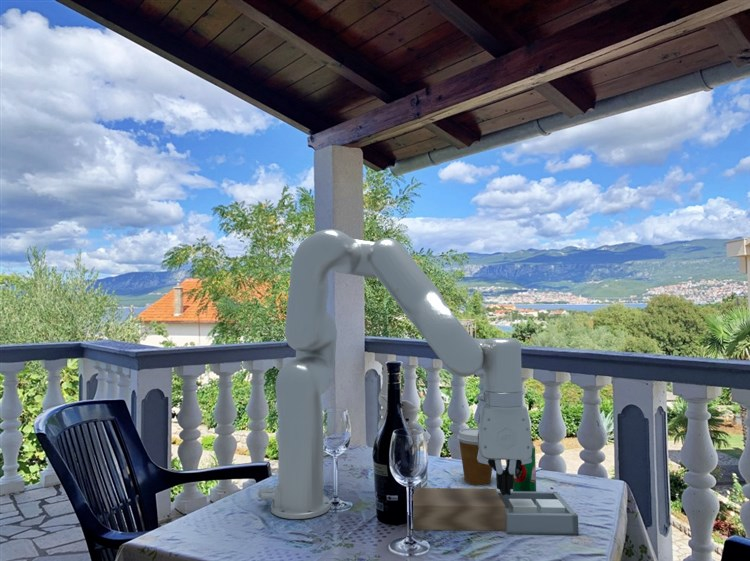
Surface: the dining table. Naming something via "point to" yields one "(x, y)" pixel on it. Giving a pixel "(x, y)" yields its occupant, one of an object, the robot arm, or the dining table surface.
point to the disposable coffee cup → (473, 458)
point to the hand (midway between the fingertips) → (504, 492)
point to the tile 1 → (522, 506)
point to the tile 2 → (549, 506)
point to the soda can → (526, 476)
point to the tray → (539, 516)
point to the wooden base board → (458, 509)
